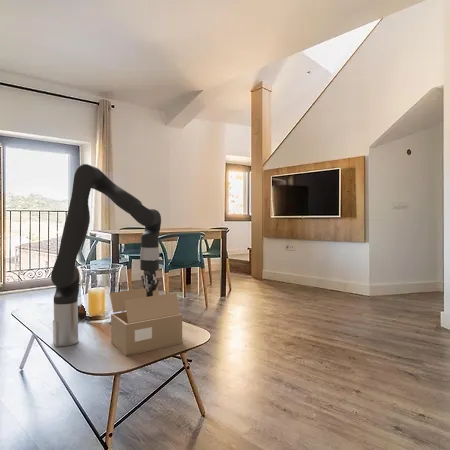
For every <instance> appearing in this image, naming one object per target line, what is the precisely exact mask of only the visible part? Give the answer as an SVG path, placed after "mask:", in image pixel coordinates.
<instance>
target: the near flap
mask: <svg viewBox="0 0 450 450" xmlns="http://www.w3.org/2000/svg"><path fill="white" fill-rule="evenodd" d="M125 306H126V311H125V312H126V313H127V319H128V323H131V322H137V321H142V320H148V319H154V318H159V317H165V316H170V315H176V314H181V310H180V305H179V300H178V295H177V292H172V293H164V294H159V295H156V296H149V297H142V298H135V299H128V300H125Z"/></svg>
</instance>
